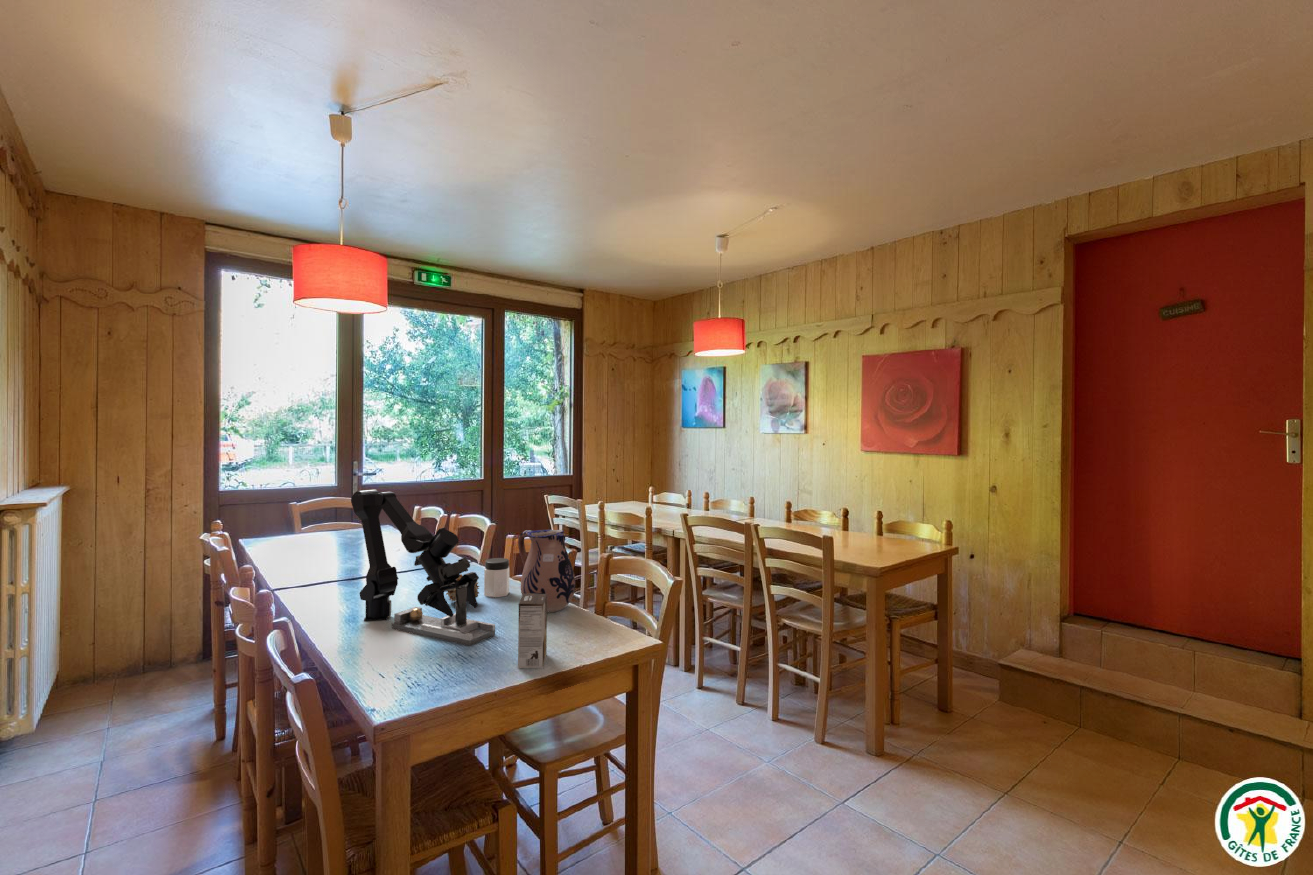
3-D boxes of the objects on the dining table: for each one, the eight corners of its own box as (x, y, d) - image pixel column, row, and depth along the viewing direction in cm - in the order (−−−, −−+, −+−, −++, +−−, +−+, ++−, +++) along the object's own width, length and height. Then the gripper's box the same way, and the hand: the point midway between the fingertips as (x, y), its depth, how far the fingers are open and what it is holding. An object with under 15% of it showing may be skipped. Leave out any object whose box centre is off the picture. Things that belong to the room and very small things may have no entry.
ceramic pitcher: (558, 620, 187) (559, 538, 187) (499, 612, 194) (500, 533, 194) (584, 604, 203) (585, 529, 203) (529, 597, 211) (530, 525, 210)
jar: (488, 598, 209) (488, 563, 209) (480, 593, 216) (480, 559, 215) (513, 595, 214) (513, 561, 214) (505, 589, 221) (505, 556, 220)
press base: (391, 628, 177) (391, 610, 177) (418, 618, 186) (418, 602, 186) (469, 646, 164) (469, 627, 164) (495, 634, 173) (495, 617, 173)
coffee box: (521, 654, 158) (522, 592, 158) (547, 654, 159) (547, 592, 158) (516, 668, 149) (517, 603, 149) (543, 668, 150) (544, 602, 149)
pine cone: (487, 604, 202) (487, 574, 202) (461, 610, 195) (461, 579, 195) (452, 592, 217) (452, 564, 217) (426, 597, 209) (426, 568, 209)
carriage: (440, 631, 171) (440, 588, 170) (458, 624, 177) (459, 582, 177) (459, 635, 167) (460, 591, 167) (477, 628, 174) (478, 586, 174)
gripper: (425, 556, 165) (455, 602, 160) (474, 544, 182) (503, 586, 177) (404, 581, 169) (433, 627, 164) (454, 567, 185) (482, 609, 181)
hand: (464, 611), depth 171 cm, fingers open, 9 cm apart
